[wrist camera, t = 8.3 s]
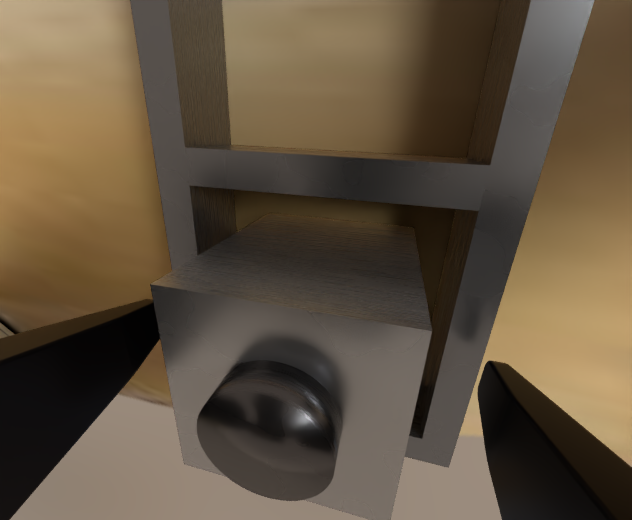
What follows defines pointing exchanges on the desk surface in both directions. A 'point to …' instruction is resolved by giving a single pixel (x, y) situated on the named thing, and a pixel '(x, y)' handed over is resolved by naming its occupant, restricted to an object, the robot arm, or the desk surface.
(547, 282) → the desk surface
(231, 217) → the two-cubby grey shelf
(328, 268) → the knobbed drawer box
